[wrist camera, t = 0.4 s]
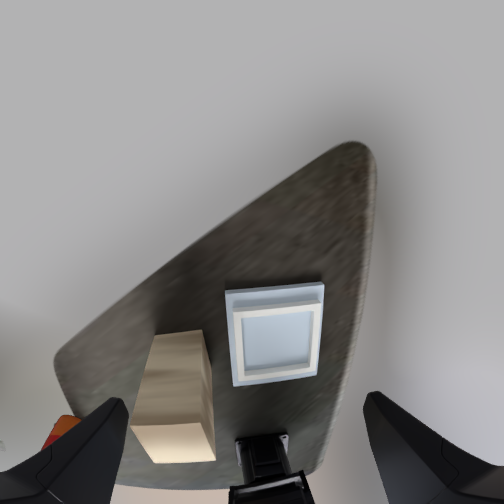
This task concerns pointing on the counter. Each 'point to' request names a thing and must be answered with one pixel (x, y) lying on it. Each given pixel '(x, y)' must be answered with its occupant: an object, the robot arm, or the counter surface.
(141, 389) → the birch pillar
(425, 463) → the robot arm
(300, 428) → the counter surface
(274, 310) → the board
